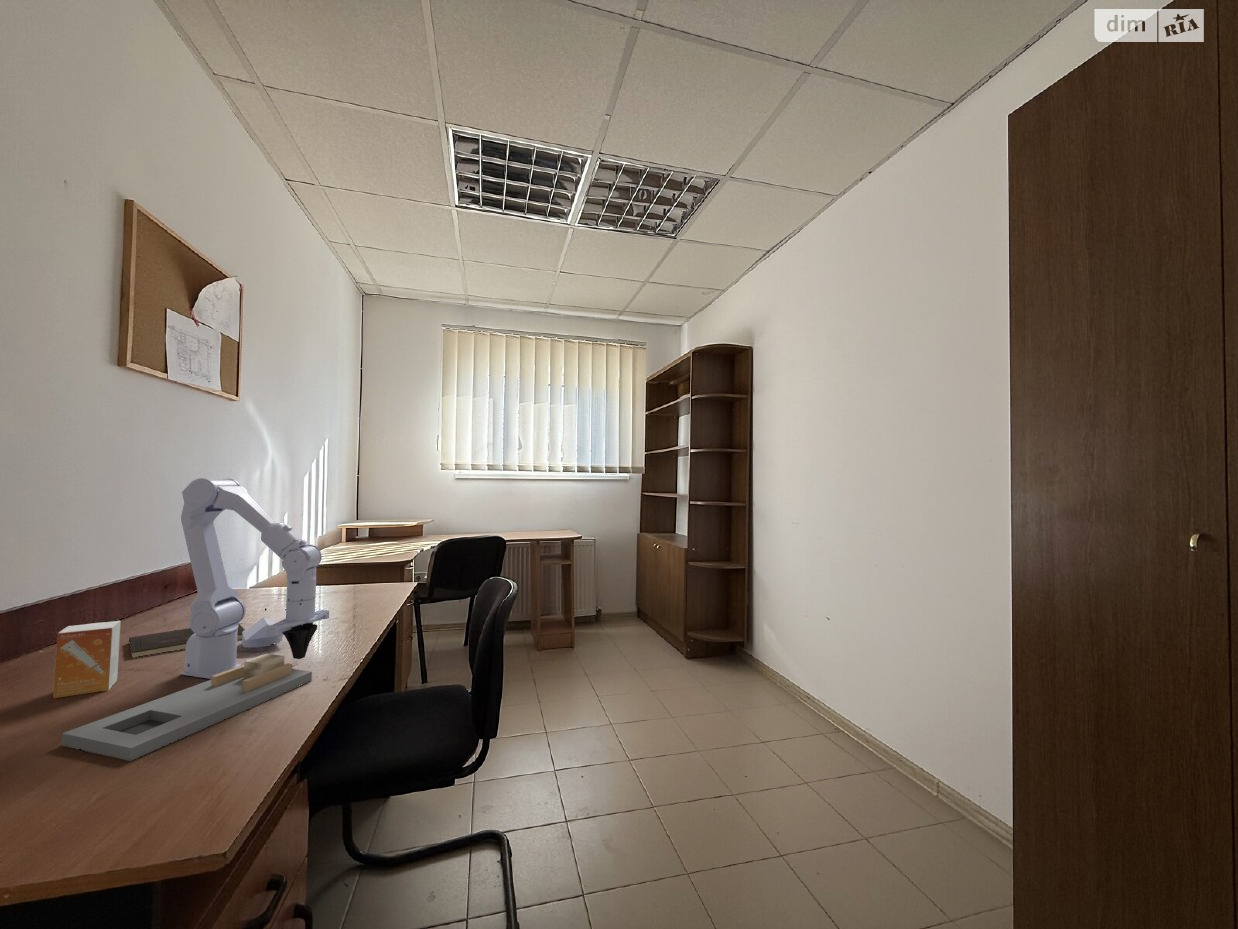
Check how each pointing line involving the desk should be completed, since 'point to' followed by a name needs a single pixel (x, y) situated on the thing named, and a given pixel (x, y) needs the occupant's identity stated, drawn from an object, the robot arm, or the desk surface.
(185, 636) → the hardcover book
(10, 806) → the desk surface
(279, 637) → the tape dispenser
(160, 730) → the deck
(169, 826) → the desk surface
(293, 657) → the robot arm
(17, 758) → the desk surface
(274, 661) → the wooden block
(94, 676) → the small box
